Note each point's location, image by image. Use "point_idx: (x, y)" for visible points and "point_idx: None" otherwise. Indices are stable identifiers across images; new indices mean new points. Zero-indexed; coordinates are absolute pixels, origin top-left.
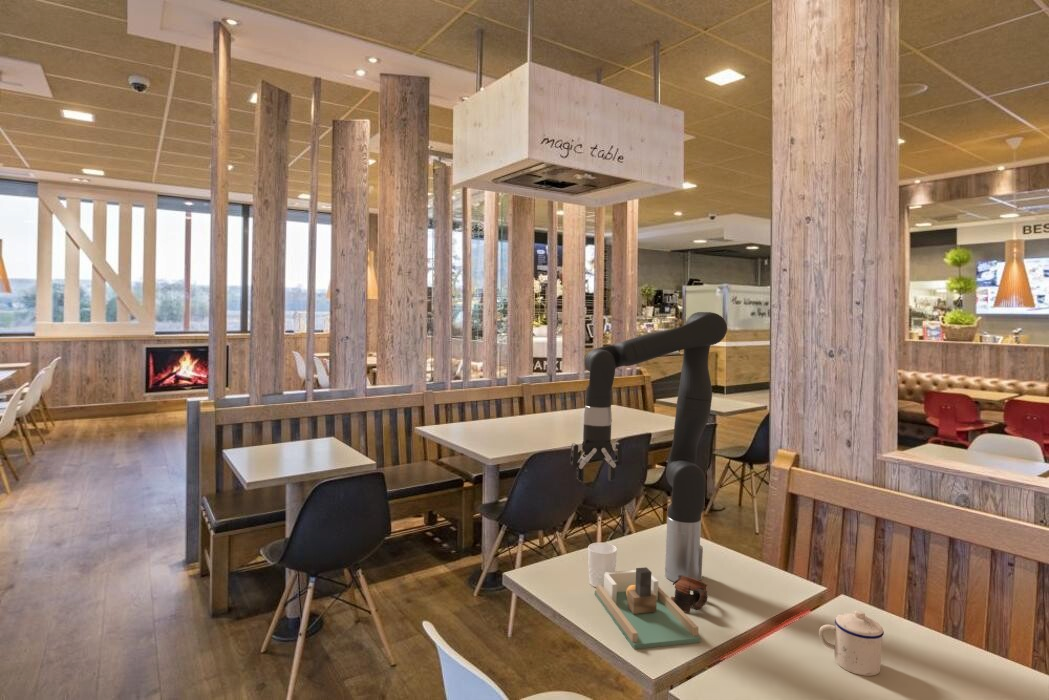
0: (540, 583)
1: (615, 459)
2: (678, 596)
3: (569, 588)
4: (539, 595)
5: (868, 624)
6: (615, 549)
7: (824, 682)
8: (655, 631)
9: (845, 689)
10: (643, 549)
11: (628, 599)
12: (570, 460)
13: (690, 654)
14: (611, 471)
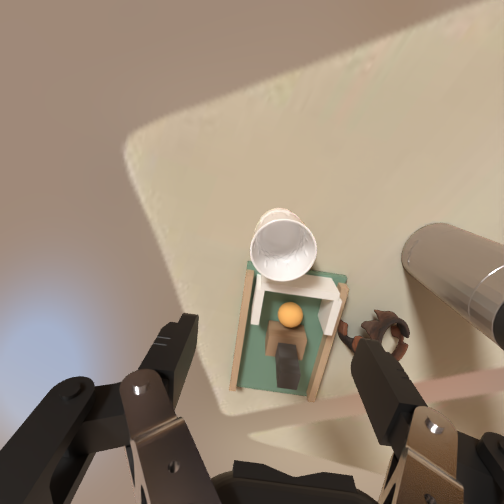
0: (172, 195)
1: (495, 480)
2: (347, 342)
3: (216, 229)
4: (159, 236)
5: None
6: (312, 257)
7: (370, 462)
8: (269, 373)
9: (378, 471)
10: (475, 97)
11: (268, 331)
12: (35, 418)
13: (284, 403)
14: (374, 420)
